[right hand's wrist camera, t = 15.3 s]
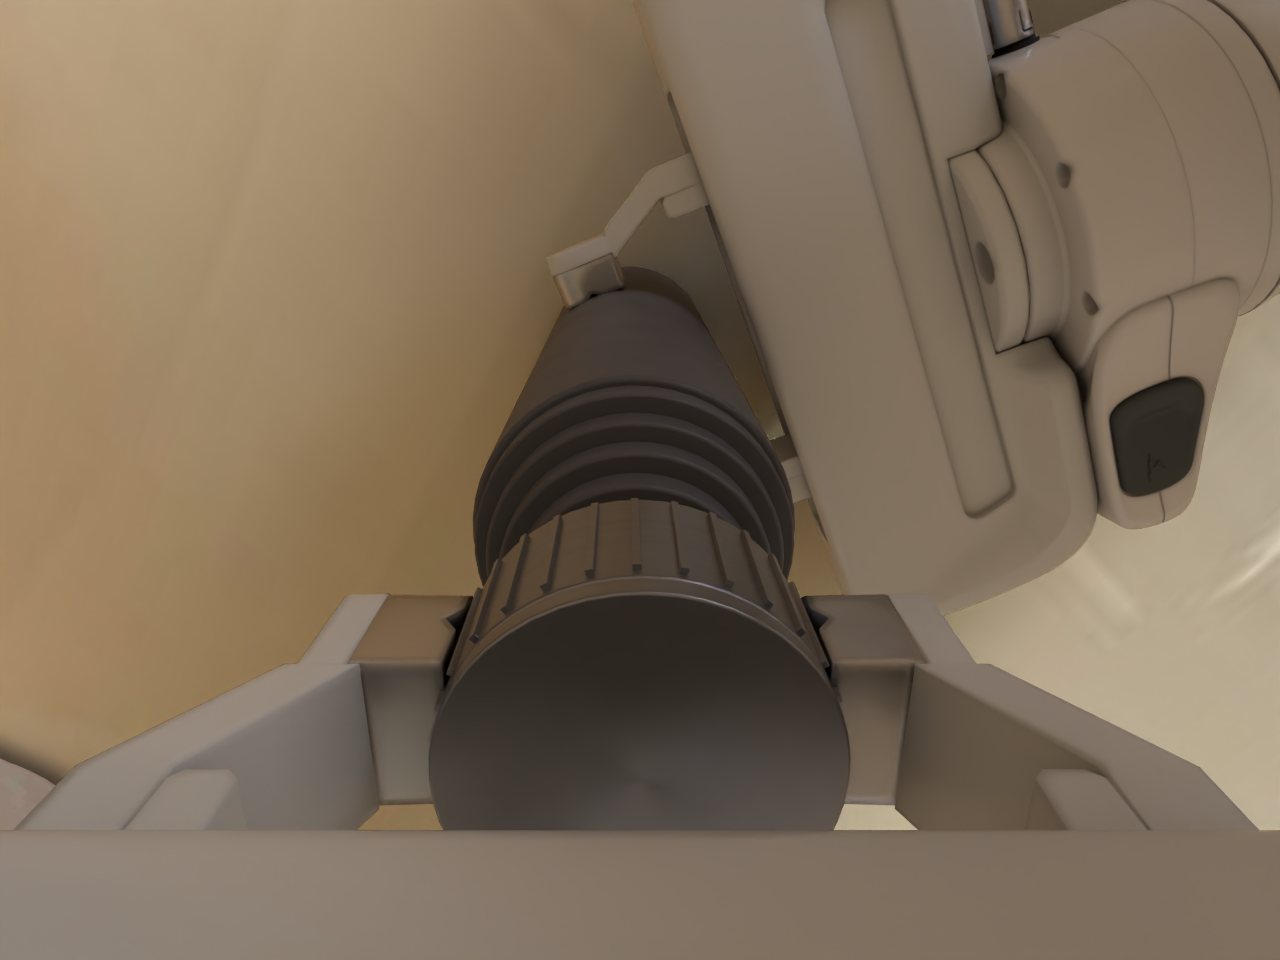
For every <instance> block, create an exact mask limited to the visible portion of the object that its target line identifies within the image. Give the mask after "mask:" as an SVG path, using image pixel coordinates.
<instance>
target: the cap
mask: <svg viewBox="0 0 1280 960" xmlns="http://www.w3.org/2000/svg"><path fill="white" fill-rule="evenodd" d="M827 667H829V663H828V661H827V659H826V656H825V654H824V652H823V649H822V647H821V644H820V642H819V640H818V637H817V635H816V633H815V630H814V628H813V626H812V623H811V621H810V619H809V616H808V614H807V612H806V609H805V607H804V605H803V602H802V600H801V598H800V595H799V593H798V591H797V588H796V586H795V584H794V582H790V583H788V581H787V580H786V578H785V577H784V575H783V573H782V571H781V568H780V566H779V563H778V561H777V559H776V557H775V556H774V555H773V553H771V554H770V555H768V554H767V553H766V552H765V550H764V549H763V548H761V547H760V546H759V545H758V544H757V543H756V542H755V541H753V540H752V539H751V537H750V534H749V532H747V531H746V530H744V529H743V530H742V531H740V530H739V529H737V528H736V527H734V526H733V525H731V524H730V523H728V522H726V521H723V520H721V519H719V518H717V516H716V514H715V513H712V512H709V513H706V512H703V511H700V510H697V509H694V508H691V507H688V506H684V505H679V504H678V502H675V501H671V503H669V502H664V501H651V500H638V498H631V500H624V501H613V502H607V503H601V504H598V502H596V503H591V506H588V507H585V508H582V509H578V510H575V511H572V512H569V513H567V514H565V515H563V516H561V515H560V514H559V515H556V516H554V517H553V520H551V521H550V522H548V523H546V524H545V525H543V526H541V527H540V528H538V529H536V530H535V531H533V532H532V533H530V534H529V535H527V534H526V533H525V534H524V535H523V536H521V538H520V541H519V543H518V544H517V545H515V546H514V547H513V548H512V549H511V550H510V551H509V553H508V554H507V555H506V556H505V557H504V558H503V559H502V560H500V559H499V558H498V559H497V560H496V561H495V562H494V565H493V568H492V571H491V574H490V576H489V578H488V579H487V581H486V583H485V585H484V587H483V589H480V588H477V590H476V592H475V595H474V597H473V600H472V603H471V606H470V609H469V611H468V614H467V617H466V620H465V622H464V625H463V628H462V631H461V634H460V636H459V639H458V642H457V645H456V648H455V650H454V653H453V656H452V659H451V661H450V664H449V667H448V670H447V673H446V674H447V675H449V676H450V679H449V681H448V684H447V686H446V689H445V691H440V693H439V695H438V698H437V701H436V704H435V708H434V711H435V712H438V715H437V718H436V721H435V724H434V727H433V730H432V735H431V742H430V748H429V754H428V777H429V784H430V790H431V796H432V801H433V804H434V807H435V810H436V813H437V816H438V819H439V822H440V824H441V826H442V828H443V830H833V829H834V827H835V825H836V823H837V821H838V818H839V816H840V813H841V810H842V808H843V805H844V802H845V798H846V793H847V789H848V784H849V779H850V762H851V754H850V744H849V734H848V731H847V727H846V723H845V720H844V716H843V712H842V710H841V707H840V705H839V703H842V702H843V701H842V697H841V694H840V692H839V690H838V687H834V688H832V686H831V683H830V681H829V678H828V676H827V673H826V671H825V669H824V668H827Z"/></svg>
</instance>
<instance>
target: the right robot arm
mask: <svg viewBox="0 0 1280 960" xmlns="http://www.w3.org/2000/svg"><path fill="white" fill-rule="evenodd" d="M472 600H473V596H448V595H390V594H389V593H388V594H355V595H346V596H345V597H344V599H343V600H342V601H341V603H340V604H339V606H338V607H337V608H336V610H335V611H334V613H333V614H332V615H331V617H330V618H329V620H328V621H327V622H326V624H325V625H324V627H323V628H322V630H321V631H320V632H319V634H318V635H317V637H316V638H315V639H314V641H313V642H312V644H311V645H310V646H309V648H308V649H307V651H306V652H305V653H304V655H303V656H302V658H301V659H300V660H299V662H298V663H297V664H283V665H281V666H279V667H277V668H275V669H273V670H271V671H268V672H266V673H264V674H262V675H260V676H258V677H256V678H254V679H252V680H250V681H248V682H246V683H244V684H242V685H240V686H238V687H236V688H234V689H231V690H229V691H227V692H225V693H223V694H221V695H219V696H217V697H215V698H213V699H211V700H209V701H207V702H205V703H203V704H201V705H199V706H197V707H195V708H192V709H190V710H188V711H186V712H184V713H182V714H180V715H178V716H176V717H174V718H172V719H170V720H168V721H166V722H164V723H162V724H160V725H158V726H155V727H153V728H151V729H149V730H147V731H145V732H143V733H141V734H139V735H137V736H135V737H133V738H131V739H129V740H127V741H125V742H123V743H121V744H118V745H116V746H114V747H112V748H110V749H108V750H106V751H104V752H102V753H100V754H98V755H96V756H94V757H92V758H90V759H88V760H86V761H84V762H82V763H79V764H77V765H75V766H74V767H73V768H72V769H71V770H70V771H69V772H68V773H67V774H66V775H65V776H64V777H63V778H62V779H61V780H60V781H59V783H58V784H57V785H56V786H55V787H54V788H53V789H52V790H51V791H50V792H49V793H48V794H47V795H46V796H45V797H44V798H43V799H42V800H41V801H40V802H39V803H38V804H37V805H36V806H35V807H34V808H33V810H32V811H31V812H30V813H29V814H28V815H27V816H26V817H25V818H24V819H23V820H22V821H21V822H20V823H19V824H18V825H17V826H16V827H15V828H14V829H13V830H0V960H1280V830H1259V829H1258V828H1257V827H1256V826H1255V825H1254V824H1253V823H1252V822H1251V821H1250V820H1249V819H1248V818H1247V817H1246V816H1245V815H1244V814H1243V813H1242V811H1241V810H1240V809H1239V808H1238V807H1237V806H1236V805H1235V804H1234V803H1233V802H1232V801H1231V800H1230V799H1229V798H1228V797H1227V796H1226V795H1225V793H1224V792H1223V791H1222V790H1221V789H1220V788H1219V787H1218V786H1217V785H1216V784H1215V783H1214V782H1213V781H1212V780H1211V779H1210V778H1209V777H1208V775H1207V774H1206V773H1205V772H1204V771H1203V770H1202V769H1201V768H1200V767H1198V766H1196V765H1194V764H1192V763H1190V762H1188V761H1186V760H1184V759H1182V758H1180V757H1178V756H1176V755H1174V754H1172V753H1170V752H1168V751H1166V750H1164V749H1162V748H1160V747H1158V746H1156V745H1154V744H1152V743H1150V742H1148V741H1146V740H1144V739H1141V738H1139V737H1137V736H1135V735H1133V734H1131V733H1129V732H1127V731H1125V730H1123V729H1121V728H1119V727H1117V726H1115V725H1113V724H1111V723H1109V722H1107V721H1105V720H1103V719H1101V718H1099V717H1097V716H1095V715H1093V714H1091V713H1089V712H1087V711H1085V710H1083V709H1081V708H1078V707H1076V706H1074V705H1072V704H1070V703H1068V702H1066V701H1064V700H1062V699H1060V698H1058V697H1056V696H1054V695H1052V694H1050V693H1048V692H1046V691H1044V690H1042V689H1040V688H1038V687H1036V686H1034V685H1032V684H1030V683H1028V682H1026V681H1024V680H1022V679H1020V678H1017V677H1015V676H1013V675H1011V674H1009V673H1007V672H1005V671H1003V670H1001V669H999V668H997V667H995V666H993V665H991V664H977V663H976V662H975V661H974V659H973V658H972V656H971V655H970V653H969V652H968V651H967V649H966V648H965V646H964V645H963V644H962V642H961V641H960V639H959V638H958V636H957V635H956V634H955V632H954V631H953V629H952V628H951V627H950V625H949V624H948V622H947V621H946V619H945V618H944V617H943V615H942V614H941V612H940V611H939V610H938V608H937V607H936V605H935V604H934V602H933V601H932V600H931V598H930V597H929V596H927V595H925V594H923V593H919V594H898V595H886V594H872V595H829V596H804V597H802V598H801V600H802V602H803V605H804V607H805V609H806V612H807V614H808V616H809V619H810V621H811V623H812V626H813V628H814V630H815V633H816V635H817V637H818V640H819V642H820V644H821V647H822V649H823V652H824V654H825V656H826V659H827V661H828V663H829V667H827V668H824V669H825V671H826V673H827V676H828V678H829V681H830V683H831V686H832V688H834V687H838V690H839V692H840V694H841V697H842V701H843V702H842V703H839V705H840V707H841V710H842V712H843V716H844V720H845V723H846V727H847V731H848V734H849V744H850V754H851V762H850V779H849V784H848V789H847V793H846V798H845V802H844V804H870V805H895V809H896V810H897V811H898V812H899V813H900V814H901V815H903V816H904V817H905V818H906V819H907V820H908V821H909V822H910V823H911V824H912V825H913V826H915V827H916V828H917V829H918V830H357V829H358V828H359V827H360V826H361V825H362V824H363V823H365V822H366V821H367V820H368V819H369V818H370V817H371V816H372V815H373V814H374V813H376V812H377V811H378V810H379V805H404V804H433V801H432V796H431V790H430V784H429V777H428V754H429V748H430V742H431V735H432V730H433V727H434V724H435V721H436V718H437V715H438V712H435V711H434V708H435V704H436V701H437V698H438V695H439V693H440V691H445V689H446V686H447V684H448V681H449V679H450V676H449V675H447V674H446V673H447V670H448V667H449V664H450V661H451V659H452V656H453V653H454V650H455V648H456V645H457V642H458V639H459V636H460V634H461V631H462V628H463V625H464V622H465V620H466V617H467V614H468V611H469V609H470V606H471V603H472Z"/></svg>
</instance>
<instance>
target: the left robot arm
mask: <svg viewBox="0 0 1280 960" xmlns="http://www.w3.org/2000/svg"><path fill="white" fill-rule="evenodd" d="M633 3H634V7H635V10H636V13H637V16H638V19H639V21H640V24H641V27H642V30H643V33H644V36H645V39H646V41H647V44H648V47H649V50H650V53H651V56H652V58H653V61H654V64H655V67H656V70H657V73H658V76H659V78H660V81H661V84H662V87H663V90H664V93H665V95H666V98H667V101H668V104H669V107H670V110H671V112H672V115H673V118H674V121H675V124H676V127H677V130H678V132H679V135H680V138H681V141H682V144H683V147H684V149H685V152H686V154H684V155H682V156H679V157H677V158H675V159H672V160H670V161H668V162H665V163H663V164H660V165H658V166H656V167H653V168H651V169H649V170H647V172H646V173H645V174H644V176H643V177H642V178H641V180H640V181H639V182H638V184H637V185H636V186H635V188H634V189H633V190H632V192H631V193H630V194H629V196H628V197H627V198H626V200H625V201H624V203H623V204H622V205H621V207H620V208H619V209H618V211H617V212H616V213H615V215H614V216H613V217H612V219H611V220H610V221H609V223H608V224H607V225H606V227H605V228H604V230H603V233H601V234H598V235H596V236H594V237H591V238H589V239H586V240H584V241H582V242H579V243H577V244H575V245H572V246H570V247H567V248H565V249H563V250H561V251H559V252H556V253H554V254H552V255H550V256H549V257H547V258H546V259H545V260H546V263H547V265H548V268H549V270H550V273H551V275H552V276H553V279H554V282H555V284H556V286H557V288H558V291H559V293H560V295H561V297H562V300H563V302H564V304H565V306H566V308H572V307H575V306H578V305H580V304H582V303H584V302H585V301H587V300H588V299H589V298H590V296H591V294H592V293H593V294H597V295H602V294H605V293H609V292H612V291H614V290H617V289H619V288H622V287H624V282H625V278H624V275H623V273H622V270H621V267H620V265H619V262H618V259H617V254H618V253H619V252H620V250H621V249H622V248H623V247H624V245H625V244H626V243H627V241H628V240H629V239H630V237H631V236H632V235H633V233H634V232H635V231H636V229H637V228H638V227H639V226H640V224H641V223H642V222H643V220H644V219H645V218H646V216H647V215H648V214H649V212H650V211H651V210H652V208H653V207H654V206H655V204H656V203H657V202H658V201H659V200H660V199H661V201H660V202H661V205H662V207H663V210H664V213H665V214H666V216H667V217H669V218H672V219H674V218H676V217H679V216H681V215H684V214H686V213H689V212H691V211H694V210H696V209H699V208H701V207H704V206H705V209H706V212H707V215H708V218H709V221H710V223H711V226H712V229H713V232H714V235H715V238H716V240H717V243H718V246H719V249H720V252H721V255H722V258H723V260H724V263H725V266H726V269H727V272H728V275H729V277H730V280H731V283H732V286H733V289H734V292H735V294H736V297H737V300H738V303H739V306H740V309H741V312H742V314H743V317H744V320H745V323H746V326H747V329H748V331H749V334H750V337H751V340H752V343H753V346H754V349H755V351H756V354H757V357H758V360H759V363H760V366H761V368H762V371H763V374H764V377H765V380H766V383H767V385H768V388H769V391H770V394H771V397H772V400H773V403H774V405H775V408H776V411H777V414H778V417H779V420H780V422H781V425H782V428H783V431H784V434H785V435H784V436H781V437H779V438H776V439H773V440H771V441H770V443H771V445H772V446H773V448H774V450H775V452H776V454H777V456H778V458H779V460H780V462H781V464H782V466H783V468H784V470H785V473H786V476H787V479H788V482H789V485H790V488H791V493H792V499H793V503H796V502H799V501H802V500H805V499H808V502H809V505H810V508H811V511H812V513H813V516H814V519H815V522H816V525H817V528H818V531H819V533H820V536H821V539H822V542H823V545H824V548H825V550H826V553H827V556H828V559H829V562H830V565H831V567H832V570H833V573H834V575H835V578H836V580H837V582H838V585H839V587H840V589H841V591H842V593H843V595H872V594H886V595H898V594H919V593H923V594H925V595H927V596H929V597H930V598H931V600H932V601H933V602H934V604H935V605H936V607H937V608H938V610H939V611H940V612H941V614H942V615H943V616H944V615H947V614H950V613H953V612H956V611H958V610H961V609H964V608H966V607H969V606H972V605H974V604H977V603H979V602H982V601H984V600H987V599H989V598H992V597H994V596H997V595H999V594H1002V593H1004V592H1007V591H1009V590H1011V589H1014V588H1016V587H1018V586H1020V585H1023V584H1025V583H1027V582H1029V581H1031V580H1034V579H1036V578H1038V577H1040V576H1042V575H1044V574H1046V573H1048V572H1049V571H1051V570H1053V569H1055V568H1056V567H1058V566H1059V565H1061V564H1062V563H1064V562H1065V561H1066V560H1068V559H1069V558H1070V557H1071V556H1073V555H1074V554H1075V553H1076V552H1077V551H1078V550H1079V549H1080V548H1081V546H1082V545H1083V544H1084V543H1085V541H1086V540H1087V538H1088V537H1089V535H1090V533H1091V531H1092V529H1093V527H1094V524H1095V521H1096V516H1097V513H1098V514H1099V515H1101V516H1103V517H1105V518H1106V519H1108V520H1110V521H1112V522H1114V523H1116V524H1117V525H1119V526H1122V527H1124V528H1127V529H1142V528H1146V527H1150V526H1154V525H1157V524H1160V523H1163V522H1166V521H1168V520H1170V519H1173V518H1175V517H1176V516H1178V515H1180V514H1181V513H1182V512H1183V511H1184V510H1185V509H1186V508H1187V507H1188V505H1189V504H1190V502H1191V500H1192V498H1193V495H1194V492H1195V489H1196V484H1197V480H1198V474H1199V469H1200V463H1201V457H1202V452H1203V446H1204V441H1205V436H1206V430H1207V426H1208V421H1209V416H1210V411H1211V407H1212V402H1213V398H1214V394H1215V390H1216V386H1217V382H1218V378H1219V375H1220V371H1221V368H1222V364H1223V361H1224V357H1225V354H1226V351H1227V348H1228V345H1229V342H1230V339H1231V336H1232V333H1233V330H1234V327H1235V324H1236V321H1237V317H1238V316H1241V315H1243V314H1245V313H1248V312H1250V311H1251V310H1253V309H1255V308H1256V307H1258V306H1260V305H1261V304H1263V303H1264V302H1266V301H1268V300H1269V299H1271V298H1273V297H1274V296H1276V295H1278V294H1279V293H1280V0H1128V1H1126V2H1124V3H1121V4H1119V5H1116V6H1114V7H1112V8H1109V9H1107V10H1104V11H1102V12H1100V13H1097V14H1095V15H1092V16H1090V17H1088V18H1085V19H1083V20H1081V21H1078V22H1076V23H1073V24H1071V25H1069V26H1066V27H1064V28H1062V29H1059V30H1057V31H1055V32H1053V33H1050V34H1047V35H1045V36H1043V37H1039V36H1037V37H1035V32H1034V28H1033V22H1032V17H1031V12H1030V9H1029V4H1028V0H633ZM992 53H995V54H993V55H991V56H992V59H989V60H988V58H987V55H990V54H992Z"/></svg>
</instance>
